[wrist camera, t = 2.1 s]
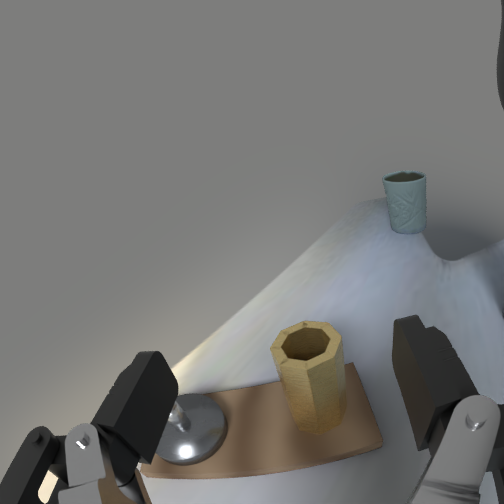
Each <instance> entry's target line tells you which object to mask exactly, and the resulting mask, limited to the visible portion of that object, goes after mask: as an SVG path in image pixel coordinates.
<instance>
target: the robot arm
mask: <svg viewBox="0 0 504 504" xmlns="http://www.w3.org/2000/svg"><path fill="white" fill-rule="evenodd" d="M501 4H502V23H501V32H500V42H499V49H498V57H497V83H498V92H499V97H500V101H501V104H502V107H503V109H504V0H501ZM503 315H504V310H503ZM392 362H393V368H394V372H395V375H396V378H397V381H398V384H399V387H400V390H401V393H402V396H403V399H404V403H405V406H406V409H407V412H408V416H409V419H410V423H411V426H412V430H413V433H414V437H415V441H416V444H417V448H418V451H421V450H424V449H427V448H429V451H430V455H431V458H430V460H429V462H428V464H427V466H426V468H425V470H424V472H423V474H422V476H421V478H420V480H419V482H418V483H417V485H416V487H415V489H414V490H413V492H412V494H411V496H410V497H409V499H408V501H407V502H406V504H479V502H480V494H479V487H480V484H481V482H482V479H483V477H484V474H485V472H489V471H492V473H493V478H494V482H495V486H496V491H497V496H498V501H499V504H504V404H502V405H499V404H496V403H495V402H494V401H493V400H492V399H490V398H489V397H486V396H482V395H480V394H479V393H478V391H477V390H476V388H475V386H474V384H473V382H472V380H471V378H470V376H469V374H468V373H467V371H466V369H465V367H464V365H463V364H462V362H461V360H460V358H459V357H458V356H457V353H456V351H455V350H454V348H452V345H451V343H450V341H449V340H448V338H447V336H446V335H445V334H444V333H443V332H441V331H440V330H438V329H437V328H435V327H434V326H433V327H429V328H425V327H424V325H423V323H422V321H421V320H420V318H419V316H418V315H413V316H409V317H405V318H401V319H396V320H395V321H394V330H393V349H392ZM177 395H178V383H177V380H176V378H175V376H174V375H173V373H172V371H171V369H170V367H169V366H168V364H167V362H166V360H165V359H164V357H163V355H162V354H161V353H160V352H159V351H148V352H146V351H145V352H139V353H138V354H137V355H136V357H135V359H134V360H133V362H132V364H131V365H129V366H128V367H127V368H126V369H125V370H124V371H123V372H121V374H120V375H119V376H118V378H117V380H116V381H115V383H114V386H112V388H111V390H110V391H109V394H108V395H107V396H106V398H105V400H104V401H103V403H102V405H101V406H100V408H99V410H98V411H97V413H96V415H95V417H94V418H93V420H92V422H91V423H90V424H87V423H85V424H80V425H78V426H76V427H74V428H73V429H72V430H71V431H70V432H69V433H68V435H66V436H54V435H53V434H52V433H51V431H50V430H49V429H48V428H46V427H44V426H40V427H37V428H35V429H33V430H32V431H31V432H30V433H29V434H28V435H27V437H26V439H25V440H24V442H23V444H22V445H21V447H20V449H19V451H18V452H17V454H16V456H15V458H14V459H13V461H12V463H11V465H10V467H9V468H8V470H7V472H6V474H5V476H4V478H3V480H2V482H1V484H0V504H44V503H43V502H41V500H40V499H39V497H38V490H39V488H40V486H41V484H42V482H43V480H44V477H45V475H46V473H47V471H48V470H49V471H50V472H52V473H53V474H54V475H55V476H57V477H58V481H57V483H56V485H55V487H54V489H53V492H52V494H51V496H50V499H49V501H48V502H47V503H46V504H152V503H151V500H150V498H149V495H148V493H147V490H146V488H145V485H144V482H143V480H142V477H141V474H140V472H139V470H138V469H137V468H136V467H137V464H138V462H139V463H144V464H150V465H151V463H152V460H153V458H154V455H155V452H156V450H157V447H158V444H159V442H160V439H161V437H162V434H163V431H164V429H165V426H166V424H167V421H168V419H169V416H170V413H171V411H172V408H173V406H174V403H175V401H176V398H177Z"/></svg>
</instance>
